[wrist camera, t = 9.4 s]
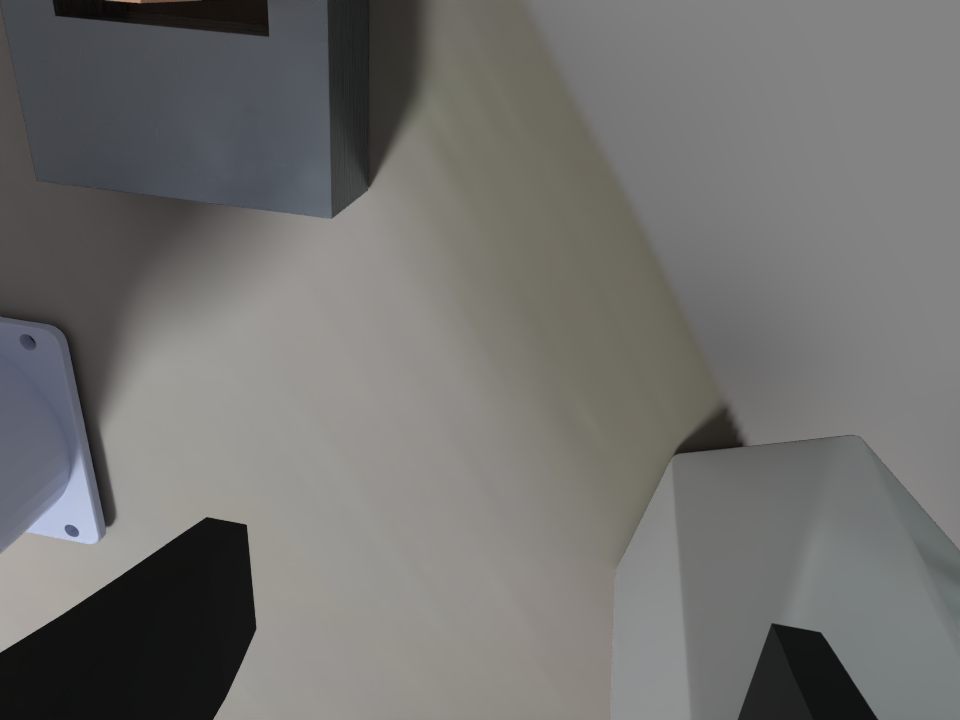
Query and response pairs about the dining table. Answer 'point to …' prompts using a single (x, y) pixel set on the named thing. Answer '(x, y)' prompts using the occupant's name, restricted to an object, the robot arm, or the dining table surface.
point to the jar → (784, 582)
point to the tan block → (151, 1)
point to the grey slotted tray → (198, 101)
